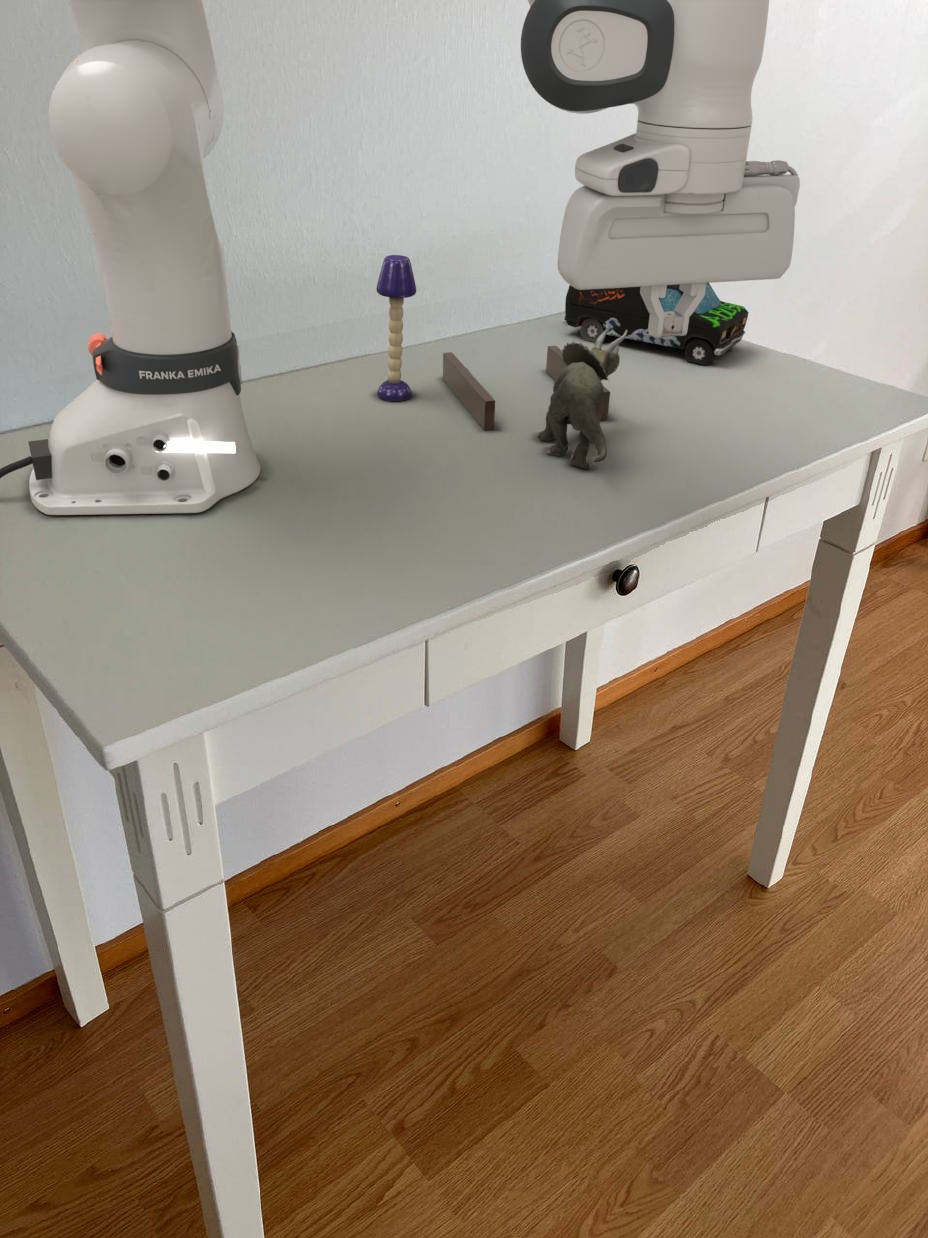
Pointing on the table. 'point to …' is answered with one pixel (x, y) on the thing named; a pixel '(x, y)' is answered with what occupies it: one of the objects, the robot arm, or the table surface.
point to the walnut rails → (481, 400)
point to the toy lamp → (395, 321)
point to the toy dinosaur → (581, 399)
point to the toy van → (628, 311)
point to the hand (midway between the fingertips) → (667, 334)
